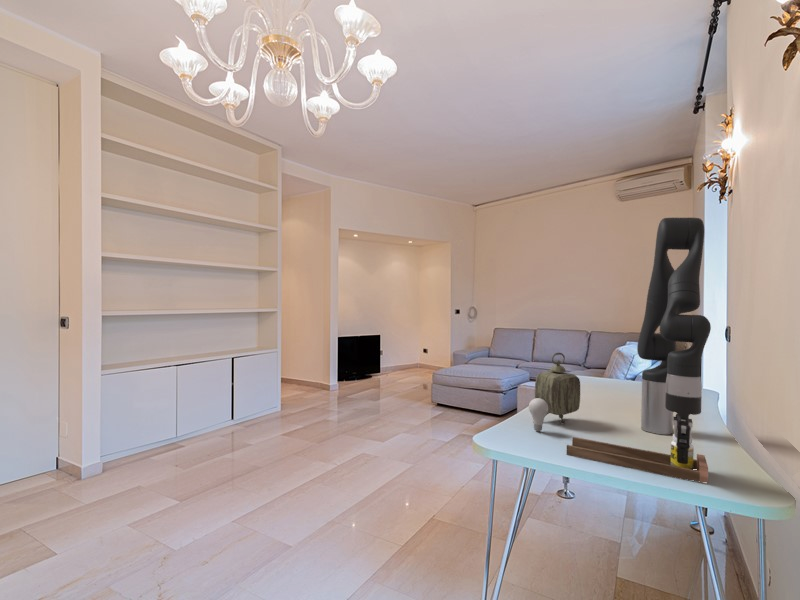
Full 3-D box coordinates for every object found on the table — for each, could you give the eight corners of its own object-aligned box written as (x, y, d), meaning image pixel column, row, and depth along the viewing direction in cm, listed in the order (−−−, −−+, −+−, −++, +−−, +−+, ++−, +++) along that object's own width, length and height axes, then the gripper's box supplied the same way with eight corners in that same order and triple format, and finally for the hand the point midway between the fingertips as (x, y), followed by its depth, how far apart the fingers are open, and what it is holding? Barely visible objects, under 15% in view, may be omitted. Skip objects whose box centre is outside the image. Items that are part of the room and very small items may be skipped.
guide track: (572, 445, 122) (573, 431, 122) (704, 470, 104) (704, 455, 105) (566, 454, 113) (566, 440, 113) (707, 484, 96) (708, 467, 96)
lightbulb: (549, 435, 130) (549, 401, 131) (529, 433, 132) (530, 399, 132) (546, 429, 136) (546, 397, 137) (527, 428, 138) (528, 395, 138)
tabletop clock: (560, 416, 154) (561, 350, 154) (581, 423, 146) (583, 353, 146) (533, 421, 146) (535, 352, 146) (555, 428, 138) (556, 355, 139)
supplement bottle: (666, 465, 105) (666, 432, 105) (683, 465, 106) (683, 432, 106) (680, 472, 101) (680, 438, 101) (698, 472, 101) (698, 438, 101)
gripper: (703, 400, 95) (702, 472, 95) (699, 390, 107) (698, 454, 107) (665, 395, 99) (664, 465, 99) (665, 386, 111) (664, 448, 111)
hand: (681, 459), depth 103 cm, fingers closed on supplement bottle, 4 cm apart
